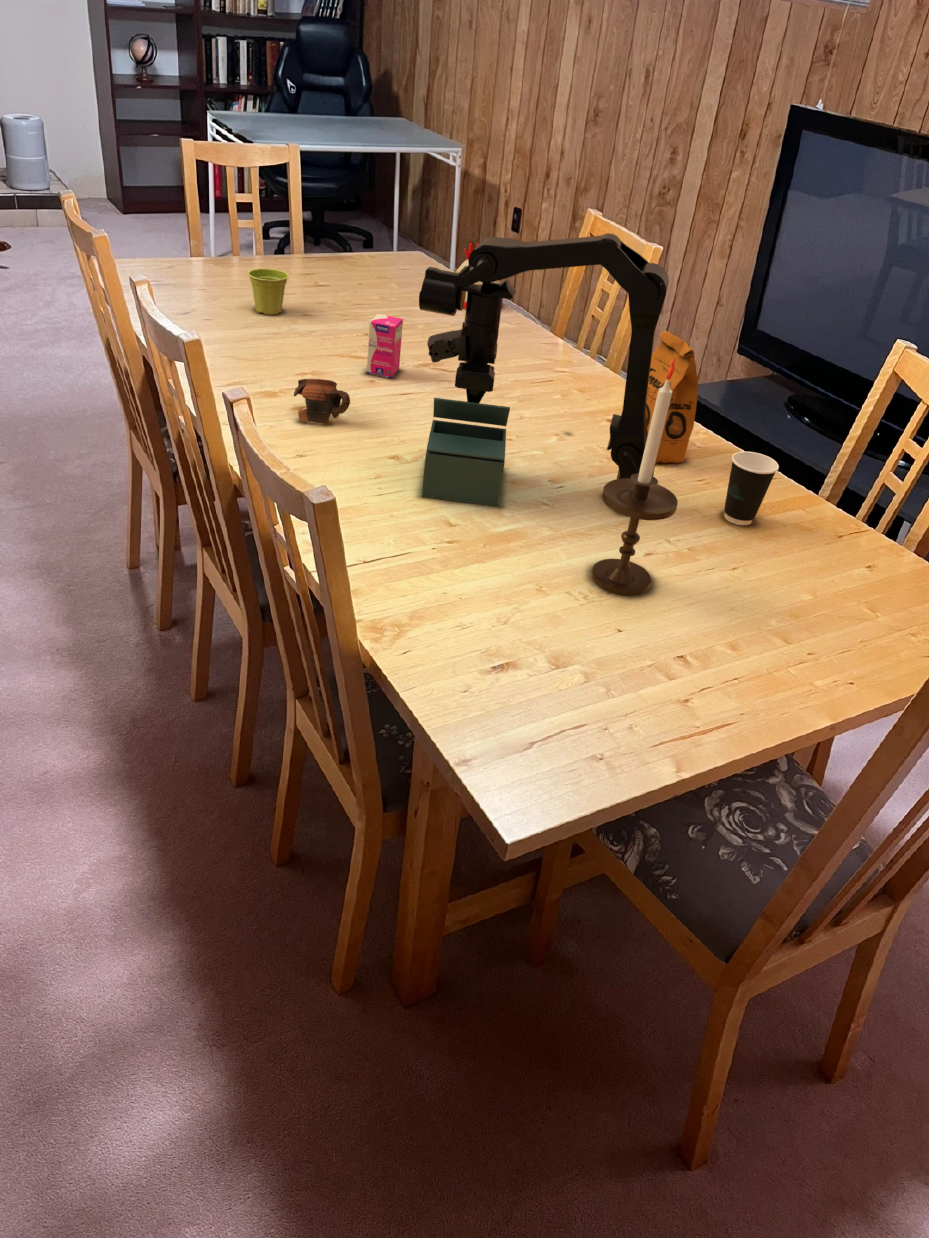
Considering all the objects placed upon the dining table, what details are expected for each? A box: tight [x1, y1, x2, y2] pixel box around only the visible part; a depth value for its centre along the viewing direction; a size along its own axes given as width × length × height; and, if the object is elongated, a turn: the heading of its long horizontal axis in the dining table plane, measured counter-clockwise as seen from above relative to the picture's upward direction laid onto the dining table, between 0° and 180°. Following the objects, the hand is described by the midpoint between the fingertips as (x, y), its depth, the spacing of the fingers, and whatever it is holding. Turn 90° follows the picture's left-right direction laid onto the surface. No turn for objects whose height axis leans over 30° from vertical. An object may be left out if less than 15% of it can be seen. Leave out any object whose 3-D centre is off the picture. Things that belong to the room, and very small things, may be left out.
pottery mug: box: [293, 378, 351, 425], centre depth 186 cm, size 12×10×8 cm
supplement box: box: [365, 313, 404, 379], centre depth 206 cm, size 6×6×12 cm
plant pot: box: [247, 268, 290, 315], centre depth 231 cm, size 9×9×9 cm
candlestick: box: [590, 357, 679, 597], centre depth 140 cm, size 11×11×35 cm
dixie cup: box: [723, 450, 780, 526], centre depth 168 cm, size 8×8×11 cm
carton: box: [421, 419, 507, 507], centre depth 168 cm, size 13×14×9 cm
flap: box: [432, 397, 511, 427], centre depth 168 cm, size 13×7×1 cm
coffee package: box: [645, 330, 699, 464], centre depth 185 cm, size 10×12×22 cm
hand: (471, 410), depth 168 cm, fingers closed
